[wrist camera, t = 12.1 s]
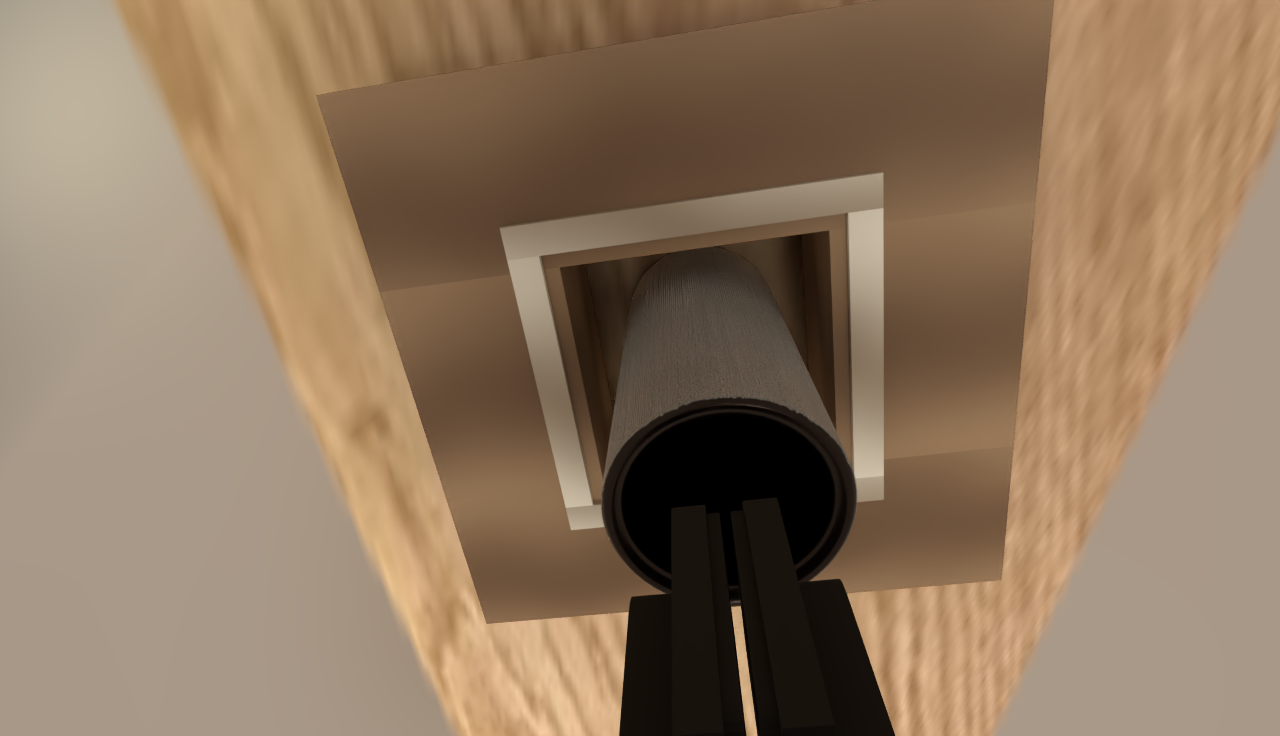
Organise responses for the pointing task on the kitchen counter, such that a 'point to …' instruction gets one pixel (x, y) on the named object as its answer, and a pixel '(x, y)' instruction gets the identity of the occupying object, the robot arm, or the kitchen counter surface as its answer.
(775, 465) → the grey hollow tube
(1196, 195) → the kitchen counter surface
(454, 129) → the brown flat square frame
